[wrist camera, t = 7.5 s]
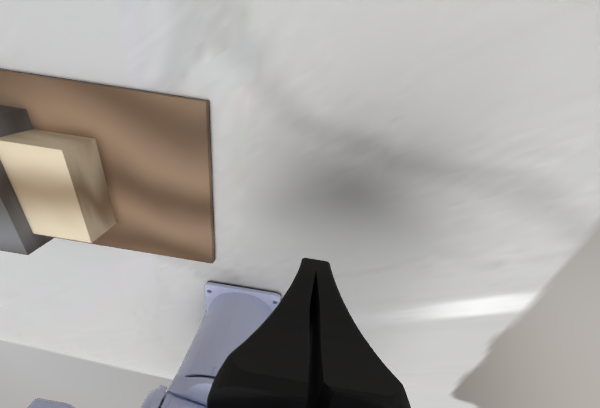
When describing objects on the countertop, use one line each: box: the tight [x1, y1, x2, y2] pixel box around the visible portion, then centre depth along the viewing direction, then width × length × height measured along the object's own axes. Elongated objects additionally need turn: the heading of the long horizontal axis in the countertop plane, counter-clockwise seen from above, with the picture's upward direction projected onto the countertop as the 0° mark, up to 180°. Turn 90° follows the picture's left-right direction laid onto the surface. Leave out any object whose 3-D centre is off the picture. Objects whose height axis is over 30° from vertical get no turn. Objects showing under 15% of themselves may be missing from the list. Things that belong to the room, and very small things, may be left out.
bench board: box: [0, 69, 215, 263], centre depth 21 cm, size 15×17×5 cm
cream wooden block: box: [0, 129, 116, 243], centre depth 22 cm, size 8×5×3 cm, turn 173°
